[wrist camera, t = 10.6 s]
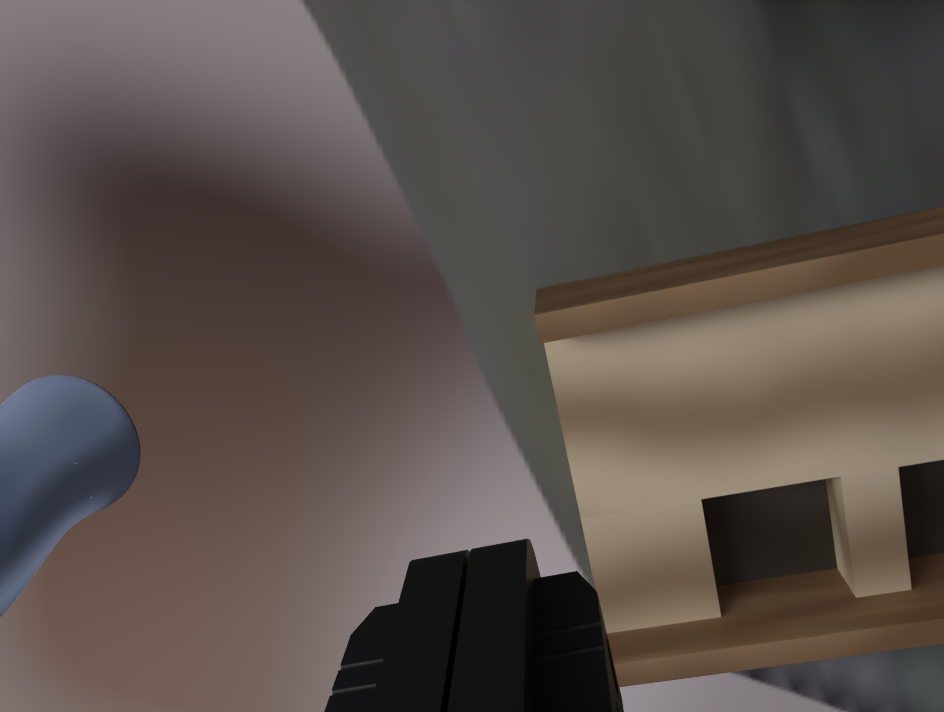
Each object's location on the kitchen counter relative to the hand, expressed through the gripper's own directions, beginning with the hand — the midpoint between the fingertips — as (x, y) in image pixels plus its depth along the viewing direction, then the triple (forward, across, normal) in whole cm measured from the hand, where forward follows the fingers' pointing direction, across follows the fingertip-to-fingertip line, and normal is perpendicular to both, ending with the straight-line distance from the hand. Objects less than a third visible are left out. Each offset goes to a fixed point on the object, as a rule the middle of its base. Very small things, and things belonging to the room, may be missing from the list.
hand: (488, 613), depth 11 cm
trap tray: (+23, -12, +8) cm, 27 cm away
